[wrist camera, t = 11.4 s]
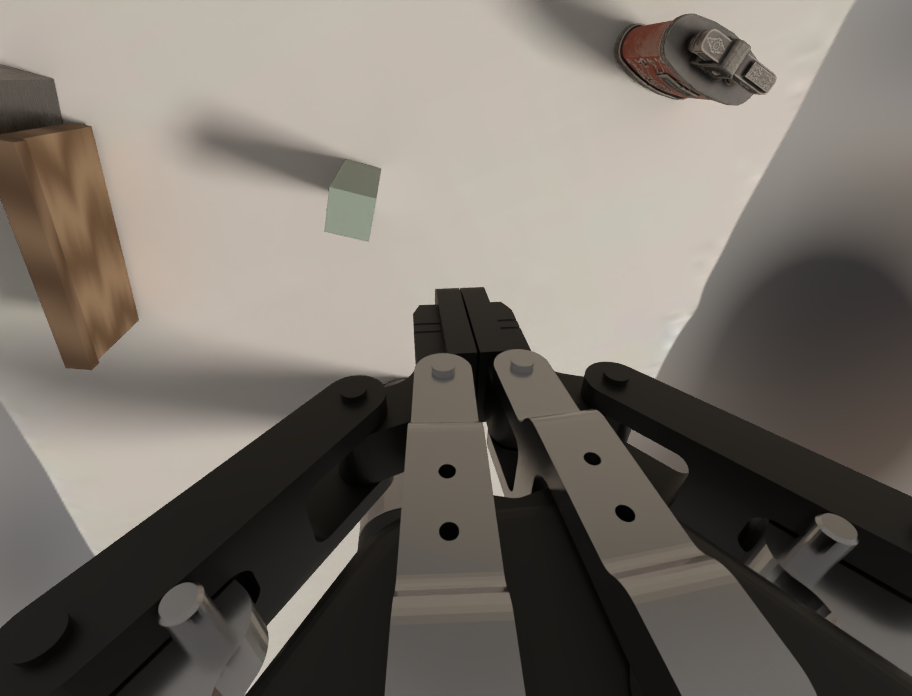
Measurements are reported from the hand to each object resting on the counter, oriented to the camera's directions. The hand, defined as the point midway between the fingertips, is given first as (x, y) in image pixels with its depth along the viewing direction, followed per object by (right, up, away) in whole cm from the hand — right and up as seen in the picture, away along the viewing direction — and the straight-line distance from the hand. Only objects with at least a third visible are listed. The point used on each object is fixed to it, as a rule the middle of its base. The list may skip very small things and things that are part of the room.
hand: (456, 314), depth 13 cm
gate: (-30, +9, +22) cm, 38 cm away
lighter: (+16, +22, +20) cm, 34 cm away
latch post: (-8, +13, +23) cm, 28 cm away
